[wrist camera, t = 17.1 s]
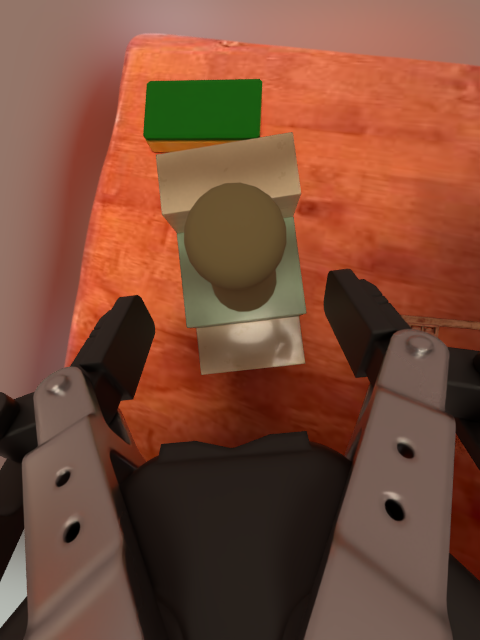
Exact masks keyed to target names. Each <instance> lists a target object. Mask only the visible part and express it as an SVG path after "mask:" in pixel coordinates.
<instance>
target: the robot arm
mask: <svg viewBox="0 0 480 640" xmlns="http://www.w3.org/2000/svg"><path fill="white" fill-rule="evenodd" d="M324 311H325V315H326V317H327V319H328V321H329V323H330V325H331V327H332V329H333V331H334V334H335V336H336V338H337V340H338V342H339V344H340V346H341V348H342V350H343V352H344V354H345V356H346V358H347V361H348V363H349V365H350V367H351V369H352V371H353V373H354V375H355V377H356V378H358V377H368V379H369V381H370V385H369V387H368V390H367V393H366V396H365V399H364V402H363V405H362V408H361V411H360V414H359V417H358V420H357V423H356V426H355V429H354V432H353V434H352V437H351V439H350V442H349V444H348V447H347V449H346V452H345V455H344V456H343V455H342V454H340V453H338V452H337V451H335V450H333V449H331V448H329V447H327V446H324V445H321V444H318V443H315V442H310V441H309V439H308V435H307V431H302V432H291V433H280V434H270V435H267V436H264V437H262V438H259V439H256V440H254V441H251V442H249V443H246V444H243V445H241V446H238V447H235V448H228V447H223V446H218V445H213V444H208V443H203V442H198V441H190V442H179V443H168V444H161V448H160V452H159V456H156V457H154V458H152V459H151V460H149V461H147V462H146V460H145V459H144V457H143V456H142V455H141V453H140V452H139V450H138V448H137V446H136V444H135V442H134V440H133V437H132V435H131V433H130V430H129V428H128V426H127V423H126V421H125V419H124V416H123V414H122V412H121V410H120V409H119V408H118V406H119V404H120V401H122V400H132V399H133V398H134V395H135V392H136V389H137V386H138V383H139V380H140V377H141V374H142V371H143V368H144V365H145V362H146V359H147V356H148V353H149V350H150V347H151V344H152V341H153V338H154V335H155V325H154V322H153V319H152V318H151V316H150V314H149V312H148V310H147V308H146V306H145V304H144V302H143V300H142V298H141V297H140V296H138V295H134V296H126V297H120V298H118V300H117V301H116V303H115V305H114V306H113V308H112V310H109V311H108V312H107V313H106V314H105V315H104V316H103V317H101V318H100V319H99V321H98V323H97V324H96V326H95V327H94V330H93V331H92V332H91V334H90V336H89V338H88V339H87V340H86V342H85V344H84V345H83V347H82V348H81V350H80V352H79V353H78V355H77V356H76V358H75V360H74V361H73V363H72V364H71V366H70V367H66V368H62V369H60V370H58V371H56V372H54V373H52V374H51V375H49V376H48V377H47V378H46V379H44V380H43V381H42V382H41V383H40V385H39V386H38V387H37V389H36V391H35V392H33V393H30V394H27V395H24V396H22V397H19V398H16V399H12V398H11V397H9V396H7V395H6V394H4V393H2V392H0V456H2V457H4V458H7V460H6V462H5V463H4V465H3V466H2V468H1V470H0V581H1V579H2V576H3V574H4V572H5V570H6V567H7V565H8V563H9V561H10V559H11V557H12V554H13V552H14V550H15V548H16V545H17V543H18V541H19V539H20V536H21V534H22V532H23V530H24V529H25V553H26V577H27V597H26V598H25V599H24V600H23V602H22V603H21V604H20V605H19V606H18V608H17V609H16V610H15V612H13V614H12V615H11V616H10V617H9V618H8V620H7V621H6V622H5V623H4V624H3V626H2V627H1V628H0V640H480V581H479V580H478V579H477V578H476V577H475V576H474V575H473V574H472V573H470V572H469V571H468V570H467V569H466V568H465V567H464V566H463V565H462V564H461V563H460V562H459V561H458V560H457V559H456V558H454V557H453V556H452V555H451V554H450V553H449V541H450V523H451V504H452V486H453V468H454V450H455V433H456V434H457V436H458V437H459V439H460V440H461V442H462V444H463V445H464V447H465V448H466V450H467V451H468V453H469V454H470V456H471V458H472V459H473V461H474V462H475V464H476V465H477V467H478V468H479V470H480V351H475V350H467V349H459V348H451V347H447V346H446V345H445V344H444V343H443V342H442V341H441V340H440V339H438V338H437V337H435V336H433V335H431V334H429V333H427V332H424V331H420V330H415V329H412V328H411V327H410V326H409V325H408V324H407V322H406V321H405V320H404V319H403V318H402V317H401V315H400V314H399V313H398V312H397V311H396V310H395V308H394V307H393V306H392V305H391V304H390V303H388V300H387V299H386V298H385V297H384V296H382V293H381V292H380V291H379V289H378V288H377V287H376V286H375V285H373V284H371V283H370V282H368V281H366V280H364V279H361V280H359V279H358V278H357V277H356V275H355V274H354V273H353V271H352V270H351V269H341V270H334V271H330V272H329V273H328V276H327V283H326V290H325V296H324Z"/></svg>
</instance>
